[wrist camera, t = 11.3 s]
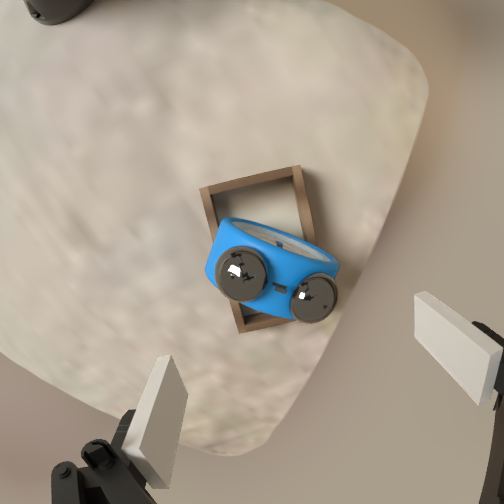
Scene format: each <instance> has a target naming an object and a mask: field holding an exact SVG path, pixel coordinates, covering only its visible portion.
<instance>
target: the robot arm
mask: <svg viewBox="0 0 504 504" xmlns="http://www.w3.org/2000/svg"><path fill="white" fill-rule="evenodd" d="M23 1H24V3H25V5H26V7H27V9H28V11H29V13H30V15H31V16H32V17H33V18H34V19H35V20H37V21H38V22H40V23H41V24H44V25H54V24H58V23H61V22H64V21H66V20H68V19H70V18H72V17H74V16H75V15H77V14H78V13H80V12H81V11H83V10H84V9H85V8H86V7H88V6H89V5H90V4H91V3H92V2H93V1H94V0H23ZM414 315H415V333H414V335H415V336H414V337H415V338H416V339H417V341H418V342H419V343H420V344H421V345H422V346H423V347H424V348H425V349H426V350H427V351H428V352H429V353H430V354H431V355H432V356H433V357H434V358H435V359H436V360H437V361H438V362H439V363H440V365H442V367H443V368H444V369H445V370H446V371H447V372H448V373H449V374H450V375H451V376H452V377H453V378H454V379H455V381H456V382H457V383H458V384H459V385H460V386H461V387H462V388H463V389H464V390H465V392H466V393H467V394H468V395H469V396H470V397H471V398H472V399H473V400H474V402H475V403H476V404H477V405H478V406H479V405H481V404H482V403H484V402H486V401H487V400H489V399H490V398H491V396H492V393H493V389H495V390H496V391H497V392H498V396H497V399H496V402H495V405H494V408H493V410H495V409H496V413H495V423H494V431H493V438H492V445H491V451H490V457H489V462H488V467H487V472H486V477H485V482H484V486H483V489H482V493H481V497H480V500H479V504H504V338H502V337H501V336H500V335H498V334H496V333H495V332H494V331H493V330H491V329H490V328H489V327H487V326H486V325H484V324H482V323H479V322H476V321H474V322H472V323H470V322H469V321H467V320H466V319H465V318H463V317H462V316H460V315H459V314H458V313H456V312H455V311H454V310H452V309H451V308H449V307H448V306H447V305H445V304H444V303H443V302H441V301H440V300H438V299H437V298H435V297H434V296H433V295H431V294H430V293H428V292H427V291H423V292H420V293H417V294H414ZM187 398H188V393H187V390H186V388H185V386H184V384H183V381H182V379H181V377H180V375H179V372H178V370H177V368H176V365H175V363H174V361H173V358H172V356H171V355H167V356H160V357H158V358H157V360H156V363H155V365H154V367H153V370H152V372H151V375H150V377H149V379H148V382H147V384H146V387H145V389H144V392H143V394H142V397H141V399H140V402H139V404H138V407H137V409H135V410H128V411H127V412H126V413H125V415H124V416H123V417H122V418H121V421H120V423H119V426H118V428H117V431H116V433H115V435H114V437H113V440H112V442H111V444H109V443H108V442H107V441H106V440H102V439H96V440H93V441H90V442H89V443H87V444H86V445H85V446H84V447H83V449H82V451H81V457H82V459H83V460H84V461H85V462H86V463H87V465H88V467H83V468H77V467H76V466H75V465H74V464H73V463H72V462H69V461H66V462H62V463H59V464H58V465H57V466H55V467H54V469H53V470H52V474H51V488H52V489H51V492H52V504H157V503H156V502H155V501H154V499H153V498H152V497H151V495H150V494H149V493H148V491H147V490H146V489H145V486H146V482H148V483H149V485H150V486H151V487H152V488H154V489H157V488H158V489H169V488H170V482H171V477H172V471H173V466H174V461H175V456H176V451H177V446H178V441H179V436H180V432H181V427H182V422H183V417H184V412H185V408H186V403H187Z"/></svg>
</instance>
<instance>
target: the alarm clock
mask: <svg viewBox="0 0 504 504" xmlns="http://www.w3.org/2000/svg"><path fill="white" fill-rule="evenodd" d="M338 270H339V263H338V261H337V260H336V259H335V258H334V257H333V256H332V255H330V254H329V253H327V252H326V251H324V250H322V249H320V248H319V247H317V246H315V245H313V244H311V243H309V242H307V241H305V240H302V239H300V238H298V237H296V236H293V235H291V234H288V233H286V232H283V231H281V230H278V229H275V228H273V227H270V226H267V225H264V224H260V223H257V222H254V221H250V220H246V219H241V218H235V217H227V218H224V219H223V220H222V221H221V223H220V226H219V228H218V231H217V234H216V237H215V240H214V243H213V246H212V249H211V252H210V255H209V257H208V260H207V263H206V267H205V272H206V275H207V277H208V279H209V280H210V281H211V282H212V284H213V285H214V286H216V287H217V288H218V289H219V290H220V292H221V293H222V294H223V295H224V296H225V297H227V298H228V299H230V300H232V301H234V302H239V303H241V304H244V305H246V306H248V307H250V308H253V309H255V310H258V311H260V312H263V313H266V314H270V315H273V316H277V317H282V318H287V319H296V320H298V321H299V322H302V323H306V324H313V323H317V322H320V321H322V320H324V319H325V318H327V317H328V316H329V315H330V314H331V312H332V311H333V310H334V308H335V306H336V303H337V300H338V288H337V285H336V283H335V281H334V279H335V276H336V274H337V272H338Z"/></svg>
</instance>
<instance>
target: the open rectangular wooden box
mask: <svg viewBox="0 0 504 504" xmlns="http://www.w3.org/2000/svg"><path fill="white" fill-rule="evenodd" d="M199 190H200V194H201V198H202V201H203V205H204V209H205V213H206V217H207V221H208V224H209V228H210V232H211V236H212V240H213V243H214V240H215V237H216V234H217V231H218V228H219V226H220V223H221V221H222V220H223V219H224V218H227V217H235V218H241V219H246V220H250V221H254V222H257V223H260V224H264V225H267V226H270V227H273V228H275V229H278V230H281V231H283V232H286V233H288V234H291V235H293V236H296V237H298V238H300V239H302V240H305V241H307V242H309V243H311V244H313V245H315V246H317V243H316V238H315V232H314V227H313V222H312V218H311V213H310V208H309V203H308V199H307V194H306V189H305V185H304V180H303V176H302V172H301V167H300V165H297V166H292V167H287V168H283V169H278V170H274V171H269V172H265V173H260V174H256V175H252V176H248V177H244V178H239V179H235V180H231V181H227V182H223V183H219V184H215V185H212V186H208V187H204V188H200V189H199ZM229 301H230V304H231V308H232V311H233V315H234V318H235V322H236V325H237V328H238V332H239V334H240V333H245V332H249V331H254V330H258V329H263V328H267V327H271V326H276V325H280V324H284V323H288V322H292V321H296V319H287V318H282V317H277V316H273V315H270V314H266V313H263V312H260V311H258V310H255V309H253V308H250V307H248V306H246V305H244V304H241V303H239V302H234V301H232V300H230V299H229Z"/></svg>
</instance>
